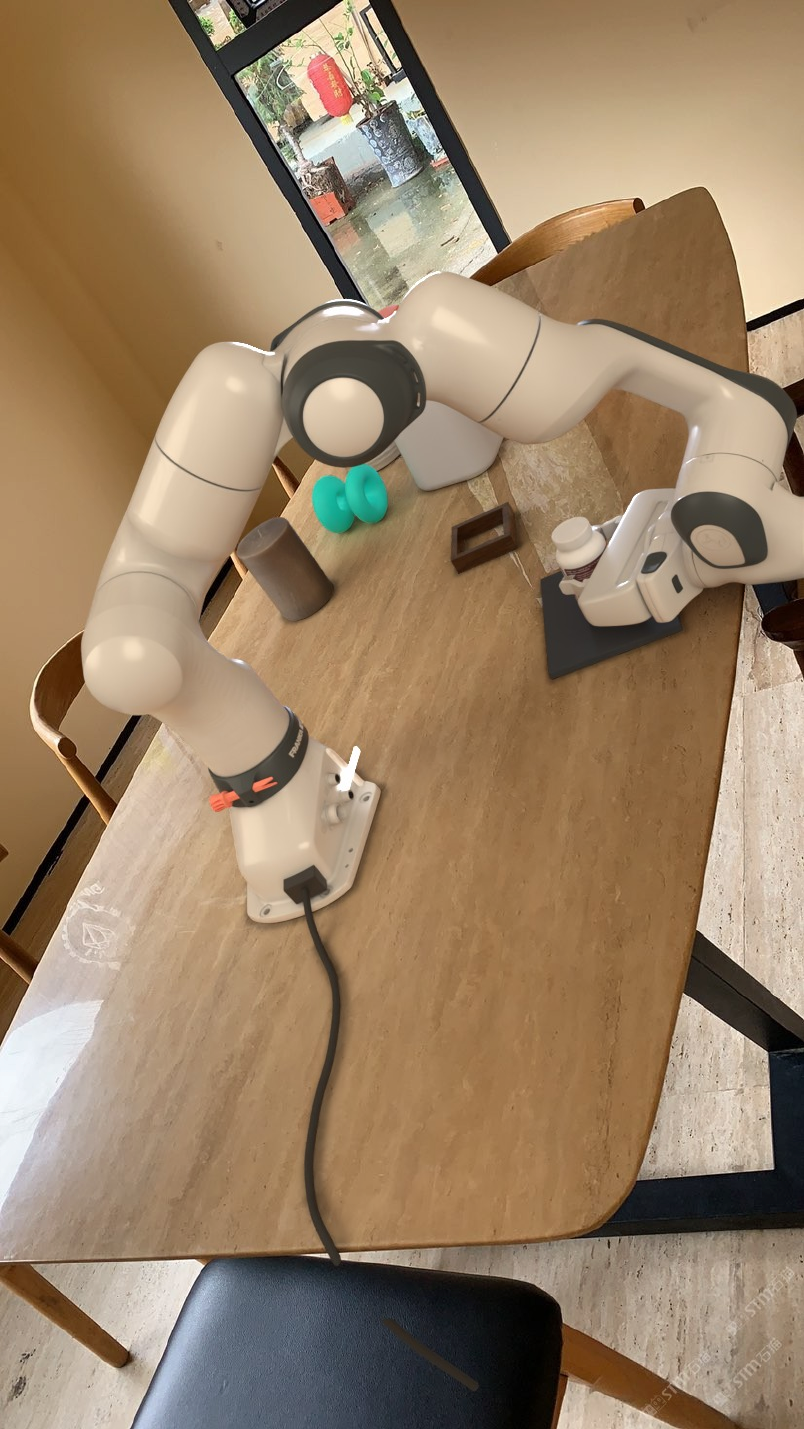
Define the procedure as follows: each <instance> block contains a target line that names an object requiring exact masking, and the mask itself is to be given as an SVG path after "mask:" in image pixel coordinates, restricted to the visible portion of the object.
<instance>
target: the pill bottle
mask: <svg viewBox="0 0 804 1429" xmlns="http://www.w3.org/2000/svg"><path fill="white" fill-rule="evenodd" d="M592 526H593V525H591V523H590V521H589V519H587V518H586V517H584V516H574V517H571V518H568V519H566V520H564V521H562V522H561V523H559V524H558V525H557V526H556V527H555V528H554V529H553V531H552V533H551V542H552V544H553V545H554V547H555V548H556V551H555V555H554V556H555V561H556V564H557V565H558V567H559V569H560V571H562V573H563V575H564V576H565V575H568V576H569V575H574V574H575V575H576V577H577V579H578V581H579V582H583V580H584V579H589V578H590V577H591V575H592V573H593V571H594V569H595V567H596V566H597V564H598V562H599V560H600V558H601V556H602V554H603V553H604V551H605V549H606V547H607V545H608V543H607V540H606V541H605V539H604V537H603V535H602V534H601V533H599V532H597V531H594V530H592ZM574 596H575V598H576V599H577V601H578V599H579V596H578V595H576V594H574Z"/></svg>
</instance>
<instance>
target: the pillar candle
mask: <svg viewBox="0 0 804 1429" xmlns="http://www.w3.org/2000/svg"><path fill="white" fill-rule="evenodd" d="M236 548H237V549H236V551H235V554H236V556H237V557H238V559H239V560H240V561H241V563H242V564H243V565H244V566H245V567H246V569H247V570H248V571H249V573H250V574H251V576H252V577H253V578H254V579H255V581H256V582H257V583H258V585H259V586H260V588H261V589H262V590H263V592H264V593H265V594H266V595H267V597H268V598H269V600H270V601H271V602H272V604H273V605H274V606H275V607H276V609H277V610H278V611H279V613H280V614H281V615H282V616H283V618H284V619H285V620H287V621H289V622H297V621H298V622H299V621H301V620H304V619H306V618H309V617H310V616H313V615H314V614H315V613H316V612H318V611H319V610H320V609H321V608H323V606H324V605H325V604H326V603H327V602H328V601H329V600H330V599H331V597H332V596H333V594H334V590H335V586H334V583H333V582H332V581H331V580H330V578H329V577H328V576H327V574H326V573H325V571H324V570H323V569H322V567H321V565H320V564H319V563H318V561H317V560H316V559H315V557H314V556H313V554H312V553H311V551H310V550H309V548H308V546H306V544H305V543H304V542H303V540H302V538H301V537H300V536H299V534H298V533H297V531H296V530H295V529H294V527H293V525H292V524H291V523H290V522H289V520H288V519H287V518H286V517H283V516H276V517H272V518H270V519H268V520H266V521H264V522H262V523H260V524H259V525H257V526H256V527H254V528H253V529H252V530H251V531H249V532H248V533H247V534H246V535H245V536H244V537H243V538H242V539H241V540H240V542H239V543H238V544H237V546H236Z"/></svg>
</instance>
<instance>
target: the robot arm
mask: <svg viewBox="0 0 804 1429" xmlns="http://www.w3.org/2000/svg"><path fill="white" fill-rule="evenodd" d="M398 305H399V308H398V310H397V311H395V312H394V313H393V315H391V316H390V317H389V318H387V319H384V318H383V317H382V316H381V315H380V314H379V313H378V311H377V310H376V309H374V308H373V307H371V306H369V305H368V304H366V303H364V302H361V301H358V300H354V299H347V298H345V299H343V298H342V299H341V298H339V299H334V300H330V301H327V302H325V303H322V304H320V305H318V306H316V307H314V308H313V309H311V310H309V311H308V312H306V313H305V314H304V315H302V316H301V317H299V319H297V321H295V322H294V323H292V324H291V325H290V326H288V327H287V328H285V329H284V330H282V331H281V332H280V333H278V334H277V335H275V337H273V339H272V341H271V343H270V348H269V351H263V350H262V349H258V348H256V347H253V346H252V345H248V344H246V343H241V342H236V341H219V342H215V343H211V344H209V345H207V346H206V347H204V348H203V349H202V350H201V351H200V352H199V353H198V354H197V355H196V357H194V359H193V361H192V362H191V364H190V365H189V367H188V369H187V370H186V371H185V373H184V375H183V377H182V378H181V380H180V381H179V383H178V385H177V387H176V389H175V391H174V393H173V394H172V396H171V398H170V400H169V401H168V404H167V406H166V409H165V410H164V413H163V414H162V417H161V419H160V421H159V425H158V427H157V430H156V432H155V435H154V436H153V439H152V443H151V445H150V448H149V451H148V453H147V456H146V458H145V461H144V464H143V466H142V469H141V472H140V474H139V477H138V480H137V482H136V484H135V487H134V490H133V493H132V496H131V498H130V500H129V503H128V506H127V508H126V511H125V513H124V514H123V516H122V519H121V521H120V524H119V526H118V529H117V531H116V533H115V536H114V538H113V541H112V543H111V546H110V548H109V551H108V553H107V555H106V559H105V561H104V564H103V566H102V569H101V571H100V574H99V577H98V582H97V584H96V588H95V592H94V595H93V599H92V601H91V605H90V609H89V612H88V614H87V615H88V616H87V620H86V622H85V626H84V630H83V633H82V635H81V636H82V637H81V643H80V652H81V665H82V673H83V679H84V683H85V685H86V688H87V689H88V691H89V693H90V694H91V695H92V697H93V698H94V699H95V700H96V701H97V702H98V703H100V704H101V705H102V706H104V707H105V708H107V709H109V710H111V711H113V712H117V713H119V714H124V715H129V716H145V715H149V716H150V717H152V718H153V719H155V720H157V721H159V722H161V723H162V724H164V725H165V726H166V727H168V728H169V729H170V730H171V731H173V732H174V733H175V734H176V735H177V736H178V737H179V739H181V740H182V741H183V742H184V743H185V744H186V746H187V747H188V748H189V749H190V750H191V751H192V752H193V753H194V754H195V755H196V756H197V757H198V758H199V760H200V761H201V762H203V764H204V765H205V766H206V767H207V770H208V773H209V775H210V778H211V779H212V783H213V784H214V786H215V788H216V789H217V791H218V792H219V793H215V794H212V795H210V796H209V801H208V802H209V805H210V808H211V809H212V811H214V812H215V813H221V812H222V811H224V810H225V809H227V808H228V812H229V822H230V828H231V832H232V837H233V838H232V839H233V846H234V850H235V851H234V852H235V857H236V864H237V868H238V870H239V872H240V874H241V876H242V878H243V879H244V880H245V882H246V911H247V912H246V913H247V916H248V917H249V918H250V920H251V921H252V922H256V923H258V924H274V923H275V924H276V923H281V922H286V921H290V920H294V919H297V918H300V917H303V916H305V920H306V924H307V927H308V930H309V934H310V936H311V939H312V942H313V944H314V947H315V950H316V952H317V954H318V955H319V958H320V960H321V962H322V964H323V966H324V968H325V970H326V973H327V975H328V978H329V983H330V989H331V996H332V997H331V998H332V1010H331V1012H332V1013H331V1023H330V1031H329V1037H328V1045H327V1050H326V1054H325V1059H324V1062H323V1066H322V1069H321V1073H320V1076H319V1080H318V1083H317V1085H316V1086H317V1087H316V1089H315V1094H314V1096H313V1102H312V1106H311V1111H310V1117H309V1123H308V1129H307V1134H306V1141H305V1150H304V1164H303V1165H304V1166H303V1170H304V1171H303V1172H304V1173H303V1174H304V1188H305V1195H306V1202H307V1207H308V1212H309V1216H310V1219H311V1222H312V1224H313V1226H314V1229H315V1231H316V1233H317V1236H318V1237H319V1239H320V1242H321V1244H322V1246H323V1247H324V1249H325V1251H326V1253H327V1256H328V1257H329V1259H330V1261H331V1264H333V1265H334V1267H338V1266H339V1265H340V1264H341V1261H342V1257H341V1254H340V1252H339V1251H338V1250H339V1249H337V1247H336V1245H335V1242H334V1241H333V1239H332V1237H331V1234H330V1232H329V1231H328V1229H327V1227H326V1224H325V1222H324V1220H323V1218H322V1215H321V1212H320V1209H319V1206H318V1201H317V1196H316V1191H315V1190H316V1188H315V1180H314V1157H315V1147H316V1140H317V1133H318V1128H319V1122H320V1114H321V1108H322V1104H323V1100H324V1095H325V1093H326V1089H327V1085H328V1082H329V1079H330V1075H331V1072H332V1068H333V1065H334V1061H335V1056H336V1052H337V1044H338V1038H339V1032H340V1031H339V1030H340V1022H341V993H340V985H339V980H338V975H337V971H336V969H335V967H334V965H333V963H332V961H331V959H330V957H329V955H328V953H327V951H326V949H325V946H324V944H323V942H322V938H321V937H320V933H319V931H318V928H317V925H316V922H315V918H314V913H313V912H316V911H318V910H321V909H323V908H324V907H327V906H329V905H330V904H332V903H333V902H335V901H336V900H338V899H339V898H341V897H342V896H343V895H345V894H346V893H347V892H348V891H349V890H350V889H351V888H352V887H353V885H354V883H355V880H356V876H357V873H358V870H359V867H360V863H361V860H362V856H363V853H364V851H365V847H366V843H367V840H368V837H369V833H370V829H371V828H372V823H373V820H374V817H375V813H376V810H377V807H378V804H379V801H380V797H381V793H382V790H381V788H380V787H379V786H378V785H377V784H376V783H375V782H372V781H369V780H365V779H363V778H361V776H359V775H358V773H357V772H356V771H355V770H356V768H357V763H358V760H359V757H360V754H361V750H360V748H359V747H358V746H357V745H356V746H353V750H352V754H351V756H350V759H349V760H350V761H349V763H347V762H346V761H345V760H344V759H343V758H342V757H341V756H340V755H339V754H338V753H337V752H336V751H335V750H334V749H333V748H331V747H329V746H328V745H325V744H324V743H321V742H320V741H319V740H317V739H315V738H313V737H312V736H311V735H309V731H308V729H307V727H306V725H304V723H303V722H302V720H301V718H300V717H299V716H298V715H297V714H296V713H295V712H294V711H292V710H291V709H290V707H288V706H286V705H284V704H282V703H281V701H280V700H279V699H278V698H277V696H276V695H275V694H274V693H273V691H272V690H271V689H270V688H269V687H268V685H267V684H266V683H265V681H263V679H262V678H261V677H260V675H259V674H258V673H257V671H256V670H255V669H254V668H253V667H252V666H251V665H250V664H249V663H248V662H246V661H244V660H242V659H238V658H229V657H227V656H225V655H224V654H223V653H221V651H218V650H217V649H216V648H215V647H213V645H212V644H210V642H209V641H208V639H207V638H206V636H205V635H204V632H203V631H202V628H201V625H200V619H201V615H202V614H201V613H202V610H203V606H204V602H205V598H206V595H207V593H208V591H209V589H210V587H211V585H212V583H213V581H214V580H215V578H216V576H217V574H218V572H219V571H220V569H221V568H222V566H223V564H224V563H225V562H226V560H227V558H229V557H230V556H231V555H232V554H233V553H234V552H235V550H236V548H237V547H238V544H239V541H240V539H241V537H242V535H243V532H244V531H245V528H246V525H247V523H248V521H249V519H250V517H251V515H252V512H253V510H254V508H255V506H256V503H257V502H258V500H259V499H258V498H260V497H259V496H260V495H261V492H262V490H263V488H264V486H265V483H266V481H267V478H268V476H269V474H270V471H271V469H272V466H273V463H275V459H276V458H277V456H278V455H279V453H280V452H281V450H282V449H283V447H284V446H285V445H286V444H287V443H288V442H289V441H290V440H292V439H294V441H295V442H296V444H297V446H299V448H300V449H301V450H303V451H304V452H305V454H307V455H308V456H309V457H311V459H314V460H315V461H317V462H319V463H321V464H323V465H327V466H329V467H334V468H340V469H344V468H345V469H346V468H348V467H355V466H359V465H362V464H365V463H367V462H369V461H371V460H373V459H374V458H376V457H377V456H378V455H380V454H381V453H382V452H383V451H384V450H386V449H387V448H388V447H389V446H390V445H391V444H392V443H393V441H394V440H395V439H396V438H397V437H398V436H399V434H400V433H401V432H402V431H403V430H404V429H406V428H407V427H408V426H409V425H410V424H411V423H412V422H413V421H414V420H415V419H417V418H418V417H419V416H420V415H421V414H422V413H423V411H424V409H425V406H426V401H435V402H439V403H441V404H444V405H446V406H448V407H450V408H452V409H454V410H456V411H458V412H459V413H461V414H463V415H465V416H466V417H468V418H470V419H472V420H473V421H475V422H477V423H479V424H480V425H482V426H484V427H486V428H487V429H489V430H491V431H493V432H494V433H496V434H498V435H500V436H502V437H504V438H503V439H507V440H510V441H512V442H515V443H518V444H523V445H538V444H539V445H540V444H544V443H548V442H551V441H554V440H556V439H558V438H560V437H563V436H564V435H566V434H567V433H569V432H570V431H571V430H573V429H575V427H577V426H578V425H579V424H580V423H581V422H582V421H583V420H584V419H586V418H587V417H588V416H589V415H590V414H591V412H593V410H594V409H595V408H596V407H597V406H598V405H599V404H600V402H602V400H603V399H604V398H605V396H607V395H608V393H609V392H611V391H623V392H626V393H630V394H632V395H635V396H637V397H639V398H641V399H644V400H647V401H649V402H651V403H653V404H654V403H655V404H656V405H659V406H662V407H664V408H667V409H668V410H672V411H674V412H676V413H678V414H680V415H681V416H682V417H683V418H684V420H685V423H686V425H687V430H688V439H687V442H686V447H685V451H684V454H683V458H682V462H681V467H680V469H679V473H678V476H677V480H676V484H675V488H673V487H671V488H670V487H669V488H667V487H666V488H651V489H644V490H642V491H640V492H638V493H637V494H635V495H634V496H633V498H632V499H631V501H630V502H629V505H628V506H627V509H626V510H625V512H624V514H623V515H618V516H616V517H614V518H612V519H610V520H608V521H605V522H604V523H603V524H595V525H591V526H592V530H594V531H597V532H599V533H601V534H602V535H603V537H604V539H605V541H606V542H607V540H609V539H610V540H609V542H608V543H607V547H606V549H605V551H604V553H603V554H602V556H601V558H600V560H599V562H598V564H597V566H596V567H595V569H594V571H593V573H592V575H591V577H590V578H589V579H584V580H583V582H579V581H578V579H577V577H576V575H575V574H574V575H569V576H568V575H565V576H564V577H563V579H562V580H561V582H560V584H559V587H560V589H561V591H562V593H563V594H566V595H570V594H576V595H578V596H579V599H578V605H579V607H580V609H581V611H582V613H583V615H584V616H585V618H586V620H587V621H588V622H589V623H590V624H592V625H594V626H622V625H632V624H637V623H641V622H644V621H646V620H647V619H649V618H650V617H651V616H653V617H654V619H655V620H656V622H659V623H665V622H669V621H671V620H673V619H674V618H675V617H676V616H677V615H678V614H679V615H680V612H682V610H683V609H684V608H685V607H686V606H687V605H688V604H689V603H690V602H691V601H692V600H693V599H694V598H696V597H698V595H700V594H701V593H702V592H703V590H704V589H709V588H710V589H712V588H718V587H721V586H723V585H726V584H731V583H738V584H741V585H742V584H743V585H749V586H751V585H753V586H754V585H765V584H775V583H783V582H789V581H790V582H791V581H795V580H801V579H804V496H798V495H796V494H794V493H792V492H790V491H789V490H787V489H786V488H785V487H783V486H782V485H781V484H780V480H781V475H782V470H783V465H784V460H785V457H786V452H787V451H788V448H789V444H790V442H791V439H792V437H793V433H794V430H795V427H796V424H797V419H798V412H797V408H796V405H795V403H794V401H793V399H792V398H791V396H789V394H788V393H787V392H786V391H785V390H784V388H783V387H781V386H780V385H779V384H778V383H776V382H775V381H774V380H772V379H770V378H768V377H765V376H763V375H760V374H757V373H753V372H748V371H742V370H738V369H733V368H729V367H726V366H723V365H721V364H719V363H716V362H713V361H712V360H709V359H707V358H705V357H703V356H700V355H697V354H695V353H693V352H690V351H688V350H686V349H683V348H681V347H679V346H676V345H674V344H672V343H670V342H667V341H665V340H662V339H660V338H658V337H655V336H653V335H651V334H648V333H646V332H643V331H641V330H638V329H636V328H634V327H631V326H628V325H625V324H623V323H620V322H617V321H614V320H613V321H612V320H608V319H602V318H589V319H584V320H582V321H580V322H578V323H577V324H572V323H571V324H570V323H567V322H562V321H559V320H556V319H553V318H551V317H549V316H547V315H545V314H543V313H542V312H540V311H538V310H536V309H535V308H533V307H531V306H530V305H528V304H526V303H524V302H523V301H521V300H519V299H517V298H515V297H514V296H511V295H509V294H508V293H505V292H503V291H501V290H499V289H497V288H494V287H492V286H490V285H488V284H485V283H482V282H480V281H477V280H476V279H472V278H470V277H466V276H464V275H462V274H458V273H456V272H451V271H435V272H432V273H430V274H428V275H426V276H425V277H423V278H421V279H420V280H418V281H417V282H416V283H415V285H413V286H412V287H411V288H410V289H409V290H408V292H406V294H405V295H404V297H403V299H402V300H401V301H400V303H399V304H398ZM418 402H420V404H419V406H417V403H418ZM380 1322H381V1323H382V1324H383V1325H384V1326H386V1328H387V1329H389V1330H390V1331H391V1332H392V1333H393V1334H394V1335H395V1336H396V1337H397V1338H399V1340H401V1341H402V1342H403V1343H405V1345H406V1346H408V1347H409V1348H410V1349H412V1350H413V1351H415V1352H416V1353H417V1354H418V1355H420V1356H421V1357H423V1358H424V1359H426V1361H428V1362H430V1363H431V1364H432V1365H434V1366H436V1367H437V1368H438V1369H440V1370H442V1371H443V1372H445V1373H446V1374H447V1375H449V1376H451V1377H452V1378H454V1379H455V1380H457V1381H458V1382H460V1383H461V1384H462V1385H464V1386H465V1387H467V1388H469V1390H470V1391H472V1392H474V1391H476V1390H477V1389H478V1387H479V1385H478V1384H479V1383H478V1382H477V1381H476V1380H474V1379H473V1378H472V1377H470V1376H469V1375H468V1374H467V1373H465V1372H464V1371H462V1370H461V1369H459V1368H458V1367H457V1366H455V1365H453V1364H452V1363H450V1362H449V1361H447V1360H446V1359H444V1358H443V1357H441V1356H440V1355H439V1354H437V1353H436V1352H434V1351H432V1350H431V1349H430V1348H428V1346H426V1345H424V1344H423V1343H422V1342H421V1341H419V1340H418V1339H417V1338H415V1337H414V1336H413V1335H412V1334H411V1333H409V1332H408V1331H407V1330H406V1329H405V1328H404V1327H402V1326H401V1325H400V1324H399V1323H398V1322H397V1321H396V1320H395V1319H394V1318H393V1317H391V1318H384V1319H380Z"/></svg>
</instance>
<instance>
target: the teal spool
mask: <svg viewBox="0 0 804 1429" xmlns="http://www.w3.org/2000/svg"><path fill="white" fill-rule="evenodd" d="M344 480H345V481H343V480H342V479H341V478H339V477H337V476H335V475H331V474H326V475H325V474H324V475H323V476H321V477H319V478H318V479H317V480H316V481H315V483H314V485H313V488H312V493H311V501H312V507H313V508H312V509H313V510H314V511H313V512H314V514H315V516H316V518H317V520H318V521H319V523H320V524H321V526H322V527H323V528H325V530H327V531H328V532H330V533H332V534H343V533H346V532H347V531H348V530H349V529H350V528H351V527H352V525H353V523H354V521H355V517H356V518H358V519H359V520H360V521H361V522H363V523H367V524H376V523H379V522H380V521H381V520H383V518H384V517H385V515H386V513H387V510H388V505H389V504H388V503H389V496H388V492H387V488H386V484H385V483H384V480H383V478H382V476H381V475H380V474H379V472H378V471H376V470H375V469H374V468H372V467H371V466H369V465H366V464H362V465H359V466H355V467H352V468H351V469H350V470H349V471H347V474H346V477H345V479H344Z"/></svg>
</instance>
